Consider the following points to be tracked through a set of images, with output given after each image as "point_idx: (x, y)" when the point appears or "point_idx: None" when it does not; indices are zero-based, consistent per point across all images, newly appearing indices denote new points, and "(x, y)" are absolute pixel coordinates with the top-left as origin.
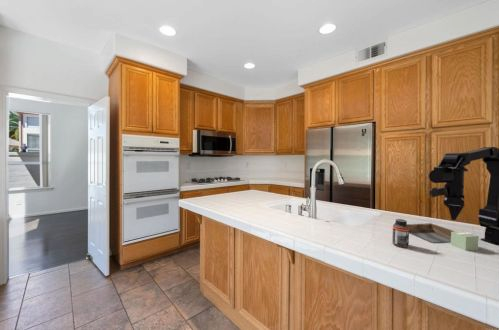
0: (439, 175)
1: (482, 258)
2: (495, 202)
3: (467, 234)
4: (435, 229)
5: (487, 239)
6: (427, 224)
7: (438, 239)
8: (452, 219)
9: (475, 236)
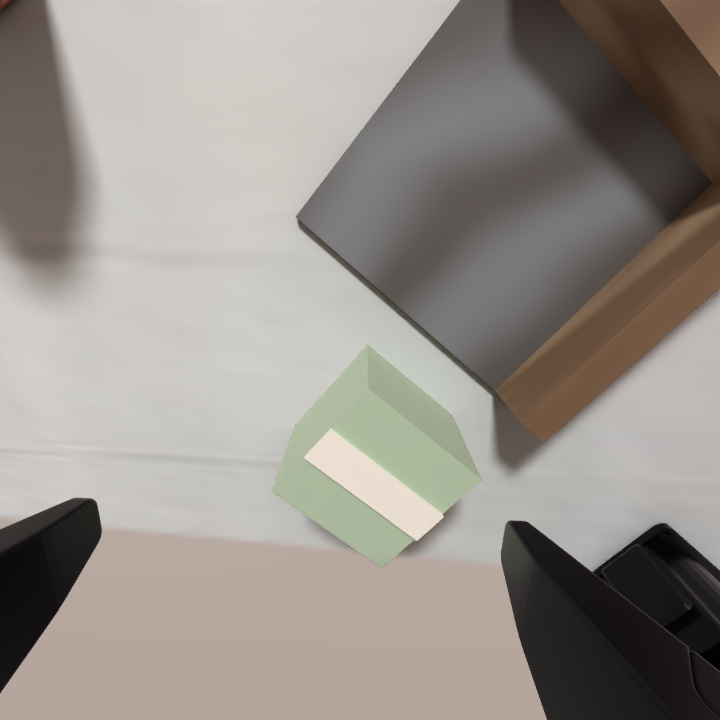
0: None
1: (209, 493)
2: None
3: (369, 504)
4: (694, 228)
5: (625, 565)
6: None
7: (427, 261)
8: (65, 512)
9: (355, 548)
